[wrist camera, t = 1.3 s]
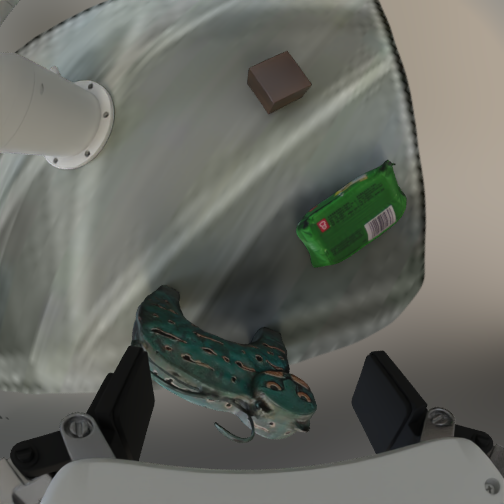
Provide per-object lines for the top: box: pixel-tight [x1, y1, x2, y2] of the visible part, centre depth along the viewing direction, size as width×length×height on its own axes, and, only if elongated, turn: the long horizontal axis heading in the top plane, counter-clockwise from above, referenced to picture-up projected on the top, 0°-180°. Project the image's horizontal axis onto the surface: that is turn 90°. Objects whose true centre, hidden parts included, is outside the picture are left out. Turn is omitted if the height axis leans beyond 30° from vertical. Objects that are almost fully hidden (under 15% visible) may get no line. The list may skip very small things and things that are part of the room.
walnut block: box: [247, 51, 312, 114], centre depth 28 cm, size 5×5×5 cm
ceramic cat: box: [131, 285, 317, 443], centre depth 28 cm, size 20×6×20 cm, turn 63°
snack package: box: [296, 160, 406, 268], centre depth 32 cm, size 7×16×5 cm, turn 124°
